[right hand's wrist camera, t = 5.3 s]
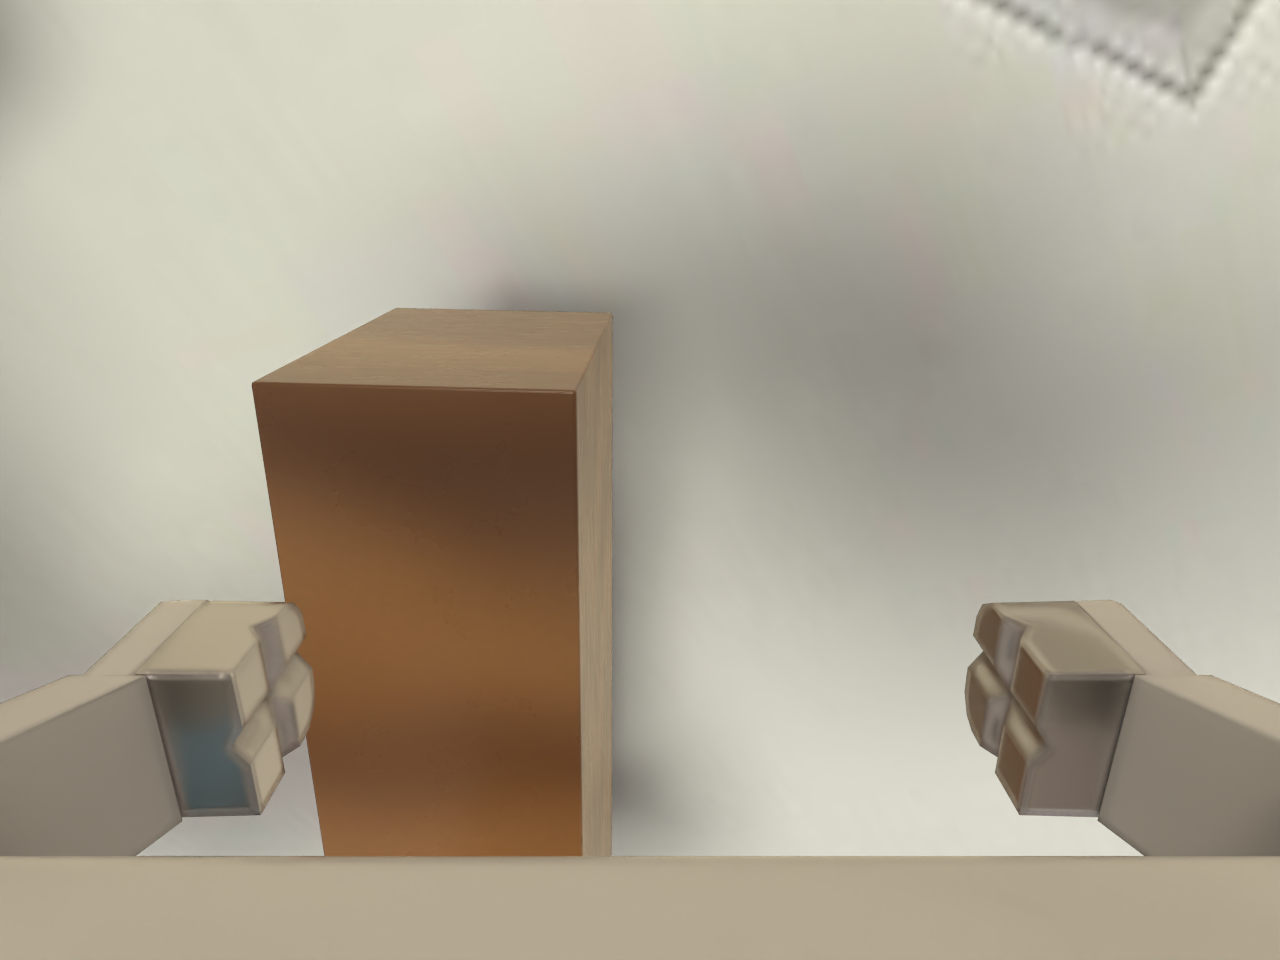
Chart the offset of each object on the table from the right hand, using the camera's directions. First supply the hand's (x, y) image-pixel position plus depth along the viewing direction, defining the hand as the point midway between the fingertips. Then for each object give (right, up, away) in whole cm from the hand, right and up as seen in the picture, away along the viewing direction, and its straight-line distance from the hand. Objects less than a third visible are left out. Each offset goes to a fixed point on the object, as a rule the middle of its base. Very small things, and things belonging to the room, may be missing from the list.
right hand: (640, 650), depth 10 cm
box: (-4, -6, +19) cm, 21 cm away
